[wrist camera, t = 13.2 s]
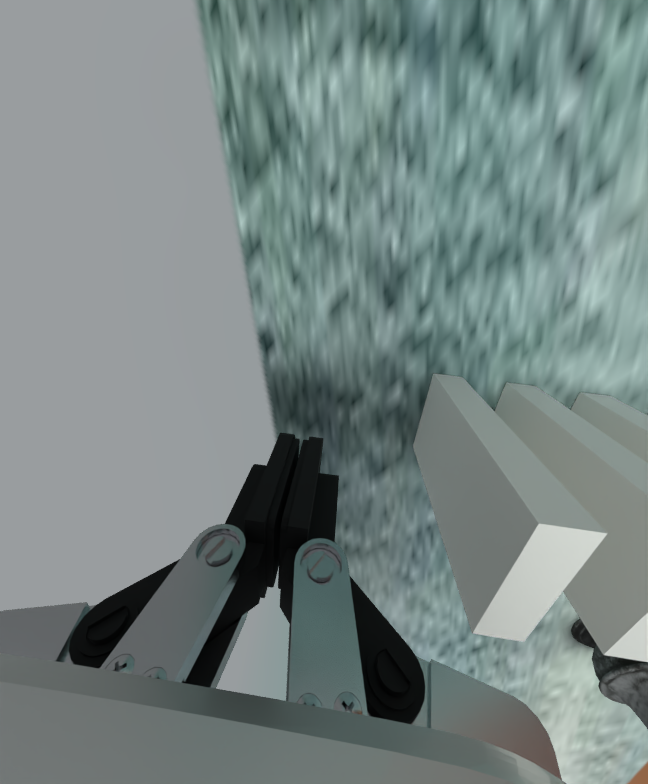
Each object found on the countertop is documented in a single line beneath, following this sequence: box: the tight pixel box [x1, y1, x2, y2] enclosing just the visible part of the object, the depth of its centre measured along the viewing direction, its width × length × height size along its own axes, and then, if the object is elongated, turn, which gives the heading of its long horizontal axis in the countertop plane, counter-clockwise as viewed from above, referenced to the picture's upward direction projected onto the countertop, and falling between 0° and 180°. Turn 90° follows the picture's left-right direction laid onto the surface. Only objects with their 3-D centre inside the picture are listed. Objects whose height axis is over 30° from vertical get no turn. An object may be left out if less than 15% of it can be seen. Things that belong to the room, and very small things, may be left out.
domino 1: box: [413, 373, 608, 642], centre depth 12 cm, size 5×2×10 cm, turn 174°
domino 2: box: [494, 382, 648, 662], centre depth 12 cm, size 5×2×10 cm, turn 174°
